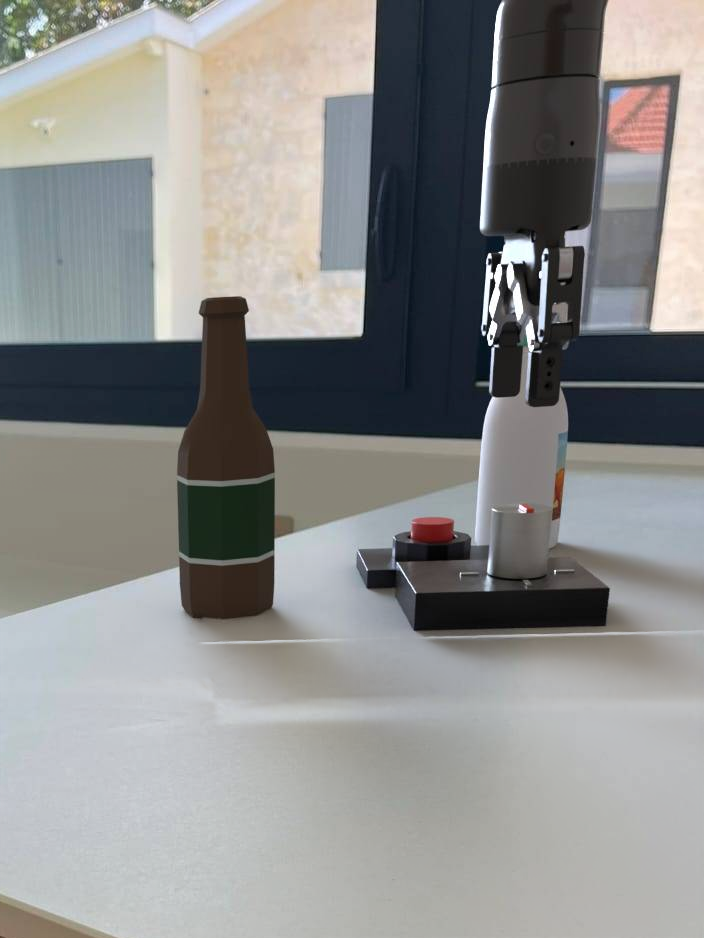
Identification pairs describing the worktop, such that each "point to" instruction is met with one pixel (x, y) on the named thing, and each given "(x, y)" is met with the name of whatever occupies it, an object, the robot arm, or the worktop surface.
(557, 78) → the robot arm
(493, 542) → the burner knob
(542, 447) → the milk bottle
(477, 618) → the panel
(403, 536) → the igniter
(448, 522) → the button
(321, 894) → the worktop surface
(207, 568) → the beer bottle
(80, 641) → the worktop surface
